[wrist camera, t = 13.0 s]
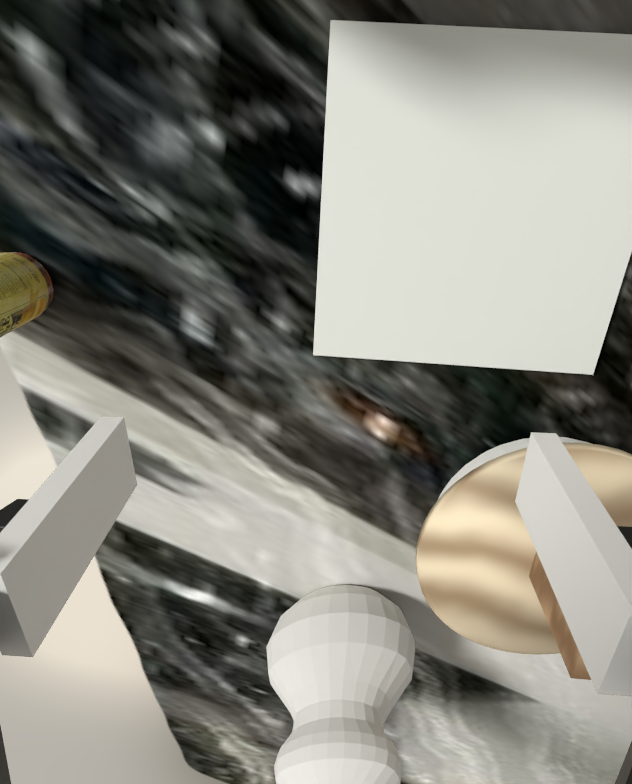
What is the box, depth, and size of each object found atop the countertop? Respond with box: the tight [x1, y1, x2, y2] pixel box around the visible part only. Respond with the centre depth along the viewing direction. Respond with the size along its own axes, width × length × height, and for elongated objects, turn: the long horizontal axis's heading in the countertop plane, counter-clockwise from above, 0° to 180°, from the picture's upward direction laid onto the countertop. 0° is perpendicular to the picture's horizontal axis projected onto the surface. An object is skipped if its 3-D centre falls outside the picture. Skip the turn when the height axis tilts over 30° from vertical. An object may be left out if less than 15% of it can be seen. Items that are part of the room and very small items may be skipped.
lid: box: [416, 442, 632, 680], centre depth 42 cm, size 24×24×11 cm
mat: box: [313, 20, 632, 375], centre depth 42 cm, size 26×26×1 cm
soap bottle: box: [267, 585, 415, 784], centre depth 50 cm, size 17×12×29 cm
